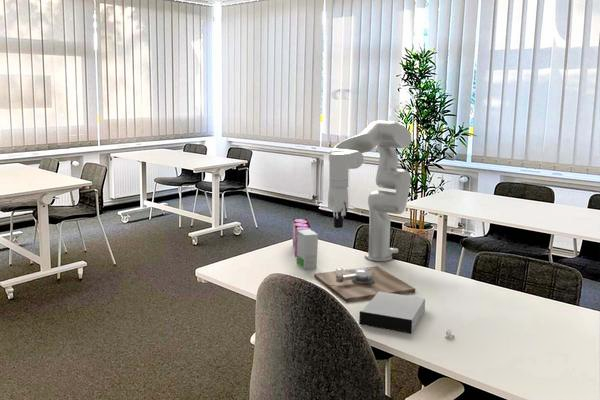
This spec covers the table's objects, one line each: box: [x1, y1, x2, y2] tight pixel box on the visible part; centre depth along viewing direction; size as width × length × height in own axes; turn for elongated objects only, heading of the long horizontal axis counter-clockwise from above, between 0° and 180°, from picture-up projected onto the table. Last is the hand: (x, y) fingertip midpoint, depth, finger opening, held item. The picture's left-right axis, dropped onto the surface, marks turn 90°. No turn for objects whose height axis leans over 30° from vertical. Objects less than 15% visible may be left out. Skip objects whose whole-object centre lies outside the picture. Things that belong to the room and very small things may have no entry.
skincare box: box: [296, 229, 319, 270], centre depth 253 cm, size 8×7×16 cm
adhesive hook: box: [444, 327, 455, 339], centre depth 183 cm, size 3×3×3 cm
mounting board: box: [313, 265, 416, 303], centre depth 231 cm, size 30×30×2 cm
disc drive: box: [358, 291, 426, 335], centre depth 199 cm, size 18×22×5 cm
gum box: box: [292, 217, 313, 258], centre depth 277 cm, size 24×8×14 cm, turn 4°
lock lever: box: [335, 267, 372, 283], centre depth 228 cm, size 16×9×5 cm, turn 117°
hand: (338, 227), depth 234 cm, fingers closed
